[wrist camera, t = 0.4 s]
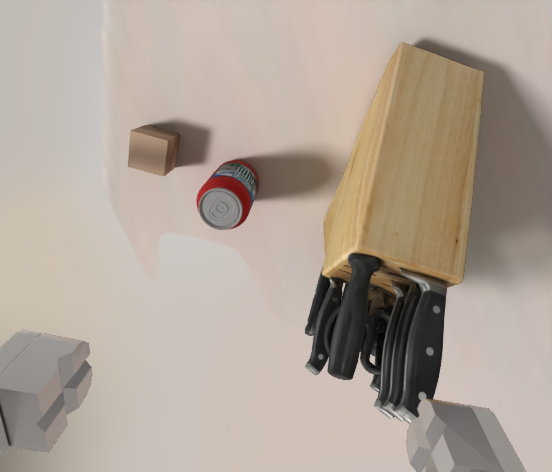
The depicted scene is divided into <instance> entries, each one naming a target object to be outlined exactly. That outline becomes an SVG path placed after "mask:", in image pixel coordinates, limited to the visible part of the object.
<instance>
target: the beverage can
mask: <svg viewBox="0 0 552 472" xmlns="http://www.w3.org/2000/svg"><path fill="white" fill-rule="evenodd" d="M258 186H259V181H258V177H257V174H256V172H255V171H254V169H253V168H252V167H251V166H250V165H248V164H247V163H245V162H242V161H237V160H232V161H228V162H225V163H224V164H222V165H221V166H220V167H219V168H218V169H217V170H216V171H215V172H214V173H213V175H212V176H211V177H210V178H209V179H208V180H207V182H206V183H205V184H204V185H203V187H202V188H201V189H200V191H199V193H198V196H197V208H198V211H199V214H200V216H201V218H202V219H203V221H204V222H205V223H206V224H207V225H209V226H210V227H212V228H214V229H218V230H226V229H233V228H236V227H238V226H239V225H241V224H242V223H243V222H244V221H245V220H246V218H247V216H248V214H249V212H250V209H251V207H252V204H253V202H254V199H255V196H256V193H257V190H258Z"/></svg>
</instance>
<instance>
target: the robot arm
mask: <svg viewBox="0 0 552 472" xmlns="http://www.w3.org/2000/svg"><path fill="white" fill-rule="evenodd" d="M89 354H90V349H89V343H87V342H85V341H81V340H76V339H71V338H66V337H60V336H56V335H51V334H46V333H44V334H43V333H38V332H33V331H28V330H22V331H20V332H17V333H15V334H14V335H13V336H12V337H11V338H10V339H9V340H8V341H7V342H5V343H4V344H3V345H2V346H1V347H0V456H1V455H3V454H4V453H5V452H7V451H8V450H9V449H10V448H9V447H14V448H20V449H28V450H35V451H42V452H49V451H50V450H51V449H52V447H53V446H54V444H55V443H56V441H57V439H58V438H59V437H60V435H61V434H62V432H63V431H64V429H65V428H66V426H67V414H69V413H71V412H72V411H74V410H76V409H77V408H79V407H80V405H81V404H82V402H83V400H84V399H85V397H86V395H87V393H88V390H89V387H90V385H91V380H92V367H91V366H90V365H89V364H88V362H87V361H86V358H87V357H88V356H89ZM417 410H418V413H419V417H418V418H416V419H414V420H412V421H411V423H410V425H409V428H408V430H407V440H406V445H407V453H408V457H409V461H410V464H411V465H412V467H414V469H415V470H416V471H417V472H526V470H525V468H524V466H523V465H522V463H521V461H520V459H519V457H518V456H517V454H516V452H515V450H514V448H513V447H512V445H511V443H510V441H509V439H508V438H507V436H506V434H505V432H504V431H503V429H502V427H501V425H500V423H499V421H498V419H497V418H496V416H495V414H494V413H493V412H492V411H491V410H490V409H489V408H482V407H477V406H471V405H464V404H459V403H452V402H446V401H439V400H433V399H427V398H425V399H423V400H422V401H421V402H420V404H419V406H418V408H417Z"/></svg>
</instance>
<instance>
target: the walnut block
mask: <svg viewBox="0 0 552 472" xmlns="http://www.w3.org/2000/svg"><path fill="white" fill-rule="evenodd" d="M179 136H180V134H176V133H173V132H169V131H166V130H162V129H158V128H155V127H151V126H147V125H144V126H142V127H139V128H136V129H134V130H131V133H130V146H129V159H128V167H131V168H134V169H138V170H142V171H145V172H149V173H153V174H157V175H160V176H165V175H166V174H167V173H169V172H170V171H171V170H173V169H174V168H175V166H176V159H177V151H178V144H179Z"/></svg>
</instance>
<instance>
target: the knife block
mask: <svg viewBox="0 0 552 472" xmlns="http://www.w3.org/2000/svg"><path fill="white" fill-rule="evenodd" d="M484 74H485V73H484V72H483V71H481V70H477V69H474V68H471V67H468V66H466V65H463V64H461V63H458V62H455V61H452V60H450V59H447V58H444V57H442V56H440V55H437V54H434V53H431V52H429V51H426V50H423V49H420V48H417V47H414V46H411V45H409V44H407V43H403V42H402V43H400V44H399V46H398V48H397V49H396V51H395V53H394V54H393V56H392V57H391V59H390V61H389V63H388V65H387V67H386V70H385V72H384V74H383V77H382V79H381V82H380V84H379V86H378V89H377V91H376V94H375V96H374V98H373V101H372V103H371V106H370V108H369V111H368V113H367V115H366V118H365V120H364V122H363V125H362V127H361V130H360V132H359V134H358V137H357V139H356V142H355V144H354V147H353V149H352V153H351V157H350V160H349V162H348V164H347V167H346V169H345V171H344V173H343V176H342V178H341V181H340V183H339V185H338V188H337V190H336V192H335V195H334V197H333V199H332V202H331V204H330V207H329V209H328V212H327V214H326V216H325V219H324V245H325V254H326V257H325V261H324V264H323V267H322V271H321V274H320V277H319V281H318V284H317V288H316V291H315V295H314V299H313V303H312V306H311V310H310V314H309V317H308V321H307V324H306V328H305V334H307V335H309V336H313V335H314V337H313V345H312V353H311V356H310V359H309V361H308V362H307V364H306V366H305V367H306V368H307V369H308V370H310V371H311V372H312V373H314V374H315V375H318V374H319V373H320V371H321V370H322V369H323V367H324V365H325V364H326V362H327V359H328V357H329V363H328V373H329V374H330V375H332V376H333V377H336V378H338V379H343V380H351V379H352V378H353V375H354V372H355V369H356V365H357V363H358V358H359V352H361V356H360V360H361V363H362V365H363V367H364V368H365V370H366V371H368V372H369V373H372V374H374V377H373V381H372V383H371V385H370V387H371V388H372V389H374V390H375V391H377V392H378V393H379V395H378V398H377V400H376V402H375V404H374V406H375V407H376V408H377V409H378V410H380V411H381V412H382V413H383V414H385V415H386V416H387V417H389V418H390V419H393V418H394V417H396V418H398V419H399V420H400V421H404V420H405V421H406V422H408V423H409V424H410V423H411V421H412V420H414V419H416V418H418V417H419V413H418V410H417V408H418V406H419V404H420V402H421V401H422V400H423V399H425V398H427V399H433V397H434V394H435V390H436V386H437V382H438V378H439V372H440V367H441V359H442V350H443V332H444V314H445V303H446V293H447V287H450V286H454V285H457V284H459V283H462V281H463V277H464V269H465V261H466V252H467V243H468V234H469V226H470V217H471V208H472V198H473V188H474V178H475V168H476V158H477V148H478V137H479V127H480V116H481V105H482V95H483V86H484ZM343 282H344V283H346V284H345V288H344V292H343V296H342V286H343ZM341 298H342V300H341ZM370 354H371V355H373V356H375V365H373V364H372V363H371V362H370V361H369V358H370Z"/></svg>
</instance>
